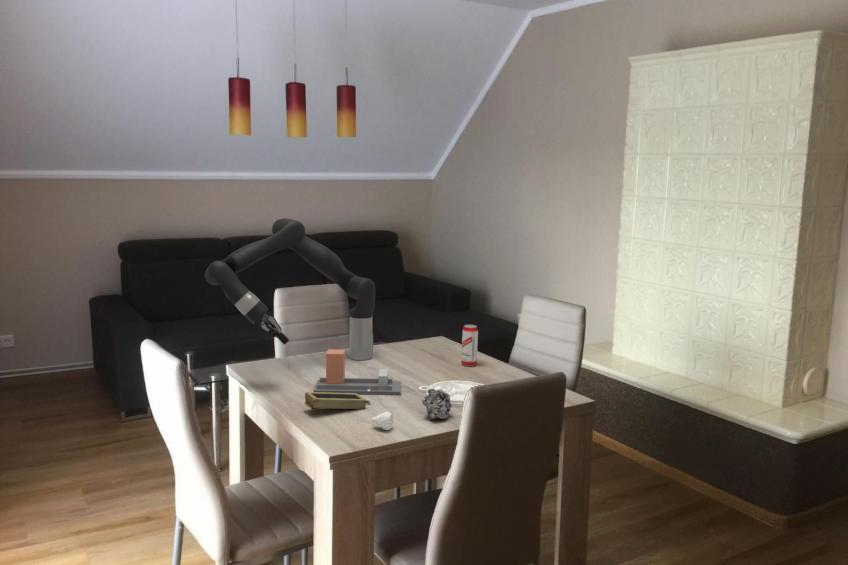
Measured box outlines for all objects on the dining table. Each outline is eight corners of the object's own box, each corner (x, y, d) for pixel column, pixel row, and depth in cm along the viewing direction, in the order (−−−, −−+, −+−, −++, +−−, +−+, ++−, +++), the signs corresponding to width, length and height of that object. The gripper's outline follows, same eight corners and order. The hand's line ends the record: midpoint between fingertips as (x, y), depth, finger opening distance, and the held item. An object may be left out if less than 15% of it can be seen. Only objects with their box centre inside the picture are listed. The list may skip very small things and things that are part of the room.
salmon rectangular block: (326, 387, 252) (326, 353, 250) (327, 381, 258) (328, 349, 256) (343, 387, 252) (343, 354, 250) (344, 382, 258) (344, 349, 256)
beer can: (468, 361, 294) (469, 323, 291) (480, 365, 290) (481, 326, 287) (457, 364, 290) (459, 325, 287) (469, 368, 285) (471, 328, 283)
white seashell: (375, 424, 222) (375, 407, 221) (393, 426, 220) (394, 409, 219) (368, 430, 217) (369, 413, 216) (387, 433, 215) (388, 415, 214)
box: (301, 406, 232) (304, 391, 232) (362, 406, 245) (365, 392, 244) (312, 414, 225) (314, 399, 225) (374, 414, 238) (376, 400, 237)
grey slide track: (313, 393, 249) (313, 376, 248) (317, 383, 261) (317, 366, 260) (400, 395, 250) (400, 377, 249) (400, 384, 262) (400, 368, 261)
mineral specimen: (426, 394, 240) (433, 373, 232) (454, 406, 238) (461, 386, 231) (411, 422, 230) (417, 402, 223) (439, 436, 229) (446, 416, 221)
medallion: (483, 412, 237) (483, 405, 236) (406, 400, 246) (406, 394, 245) (500, 391, 258) (501, 385, 258) (429, 381, 267) (430, 375, 267)
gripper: (255, 303, 243) (291, 339, 245) (262, 296, 256) (297, 330, 258) (239, 318, 243) (276, 354, 246) (247, 310, 256) (282, 344, 259)
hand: (287, 342), depth 252 cm, fingers closed
